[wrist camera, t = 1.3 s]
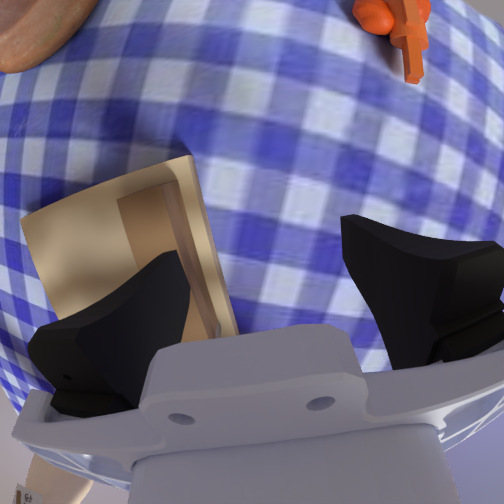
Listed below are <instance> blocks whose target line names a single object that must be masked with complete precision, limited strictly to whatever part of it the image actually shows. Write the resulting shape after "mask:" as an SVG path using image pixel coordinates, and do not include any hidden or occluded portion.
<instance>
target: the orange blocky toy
mask: <svg viewBox="0 0 504 504" xmlns="http://www.w3.org/2000/svg"><path fill="white" fill-rule="evenodd" d="M430 11H431V3H430V1H429V0H384V1H383V0H355V2H354V5H353V9H352V13H353V15H354V16H355V18H356V19H357V20H358V22H359V23H360V25H361V27H362V28H363V29H364V30H365V31H367V32H370V33H372V34H377V35H387V34H390V42H391V44H392V45H393V46H395V47H397V48H399V49H402V55H403V64H404V77H405V82H407V83H412V84H418V83H419V82H420V80H419V78H420V79H421V78H422V77H423V76H424V72H423V62H422V54H421V51H423V50H426V49H427V48H428V47H429V44H428V38H427V32H426V27H425V23H426V22H427V20H428V18H429V15H430Z"/></svg>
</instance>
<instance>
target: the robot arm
mask: <svg viewBox="0 0 504 504" xmlns="http://www.w3.org/2000/svg"><path fill="white" fill-rule="evenodd" d="M340 220H341V235H342V253H343V260H344V262H345V265H346V267H347V269H348V272H349V274H350V276H351V278H352V279H353V281H354V283H355V284H356V286H357V288H358V290H359V291H360V293H361V295H362V296H363V298H364V300H365V301H366V303H367V305H368V306H369V308H370V310H371V312H372V314H373V316H374V318H375V320H376V323H377V325H378V328H379V330H380V333H381V335H382V338H383V341H384V344H385V347H386V350H387V353H388V356H389V359H390V362H391V366H392V369H393V370H390V371H380V372H368V373H362V370H361V367H360V365H359V362H358V359H357V357H356V354H355V352H354V349H353V346H352V344H351V341H350V339H349V336H348V334H347V333H346V332H344V331H342V330H340V329H338V328H336V327H334V326H332V325H330V324H299V325H294V326H289V327H284V328H278V329H273V330H267V331H262V332H256V333H250V334H243V335H237V336H230V337H223V338H216V339H209V340H201V341H193V342H184V343H181V340H182V336H183V331H184V327H185V323H186V318H187V314H188V309H189V304H190V291H191V287H190V284H189V282H188V279H187V276H186V274H185V271H184V269H183V266H182V263H181V261H180V258H179V255H178V252H177V250H172V251H167V252H163V253H162V254H160V255H158V256H157V257H156V258H154V259H153V260H152V261H151V262H149V263H148V264H147V265H146V266H145V267H143V268H142V269H141V270H140V271H139V272H137V273H136V274H135V275H134V276H132V277H131V278H130V279H129V280H127V281H126V282H125V283H124V284H122V285H121V286H120V287H118V288H117V289H116V290H114V291H113V292H111V293H110V294H108V295H107V296H105V297H104V298H102V299H101V300H99V301H97V302H95V303H94V304H92V305H90V306H88V307H87V308H85V309H83V310H81V311H79V312H77V313H75V314H72V315H70V316H68V317H66V318H63V319H61V320H58V321H55V322H52V323H50V324H47V325H44V326H41V327H39V328H38V329H37V331H36V332H35V334H34V335H33V337H32V338H31V340H30V342H29V343H28V348H27V349H28V353H29V356H30V358H31V360H32V362H33V363H34V365H35V366H36V367H37V369H38V370H39V371H40V372H41V373H42V374H43V375H44V377H45V378H46V379H47V380H48V381H49V382H50V383H51V384H52V385H53V386H54V387H55V388H56V391H55V393H54V395H52V394H51V393H49V392H46V391H41V390H36V389H31V391H30V393H29V395H28V397H27V399H26V401H25V403H24V405H23V408H22V410H21V412H20V414H19V417H18V419H17V422H16V424H15V426H14V429H13V431H12V434H11V435H12V437H13V438H15V439H16V440H17V441H18V442H20V443H21V444H22V445H24V446H25V447H27V448H28V449H29V450H31V451H32V452H33V453H35V454H36V455H38V456H39V457H41V458H42V459H44V460H45V461H47V462H48V463H50V464H51V465H53V466H55V467H58V468H60V469H63V470H65V471H68V472H70V473H73V474H76V475H78V476H81V477H84V478H87V479H89V480H92V481H95V482H98V483H101V484H104V485H107V486H111V487H114V488H117V489H121V490H124V491H128V492H130V493H129V499H128V504H461V502H460V499H459V496H458V492H457V489H456V486H455V482H454V479H453V476H452V473H451V470H450V467H449V464H448V462H447V459H446V456H445V453H444V452H445V451H446V450H448V449H450V448H452V447H453V446H455V445H457V444H458V443H460V442H461V441H463V440H465V439H466V438H468V437H469V436H471V435H472V434H474V433H475V432H477V431H478V430H480V429H481V428H483V427H484V426H485V425H487V424H488V423H490V422H491V421H492V420H494V419H495V418H496V417H497V416H499V415H500V414H501V413H503V412H504V312H503V311H502V310H504V303H503V302H502V301H501V300H500V297H501V294H502V291H503V288H504V248H503V247H501V246H500V245H499V244H498V243H496V242H495V241H454V240H445V239H438V238H431V237H426V236H421V235H417V234H413V233H409V232H406V231H402V230H399V229H396V228H393V227H390V226H387V225H384V224H382V223H379V222H376V221H374V220H371V219H368V218H365V217H362V216H359V215H355V214H352V215H347V216H341V217H340Z"/></svg>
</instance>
